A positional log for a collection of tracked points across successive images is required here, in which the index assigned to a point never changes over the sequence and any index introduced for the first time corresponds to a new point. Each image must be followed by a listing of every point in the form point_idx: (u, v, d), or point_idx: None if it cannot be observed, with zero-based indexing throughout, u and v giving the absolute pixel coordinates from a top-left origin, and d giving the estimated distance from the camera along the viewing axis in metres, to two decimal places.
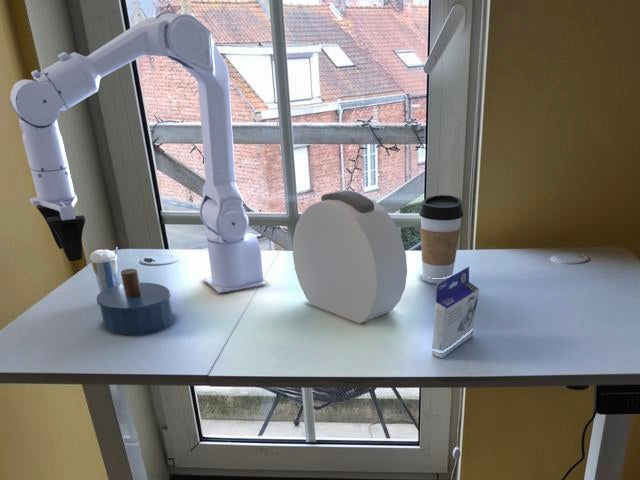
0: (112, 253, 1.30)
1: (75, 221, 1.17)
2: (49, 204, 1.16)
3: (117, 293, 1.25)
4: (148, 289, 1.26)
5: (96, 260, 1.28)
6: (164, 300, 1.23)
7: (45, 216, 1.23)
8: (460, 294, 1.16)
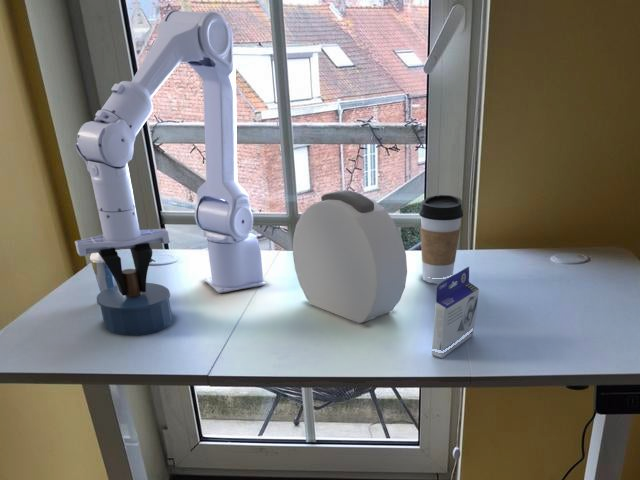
0: None
1: (102, 257, 1.18)
2: (95, 237, 1.18)
3: (116, 293, 1.25)
4: (148, 289, 1.26)
5: (96, 260, 1.28)
6: (164, 300, 1.23)
7: (132, 254, 1.23)
8: (460, 294, 1.16)
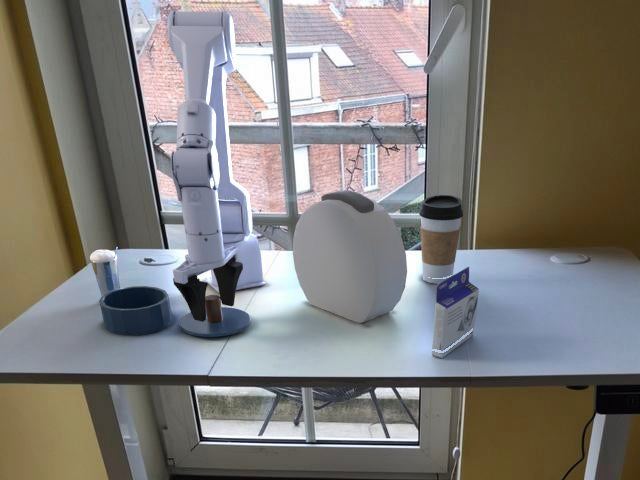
0: (112, 253, 1.30)
1: (190, 286, 1.16)
2: None
3: (196, 321, 1.25)
4: None
5: (96, 260, 1.28)
6: (250, 318, 1.27)
7: (214, 272, 1.25)
8: (460, 294, 1.16)
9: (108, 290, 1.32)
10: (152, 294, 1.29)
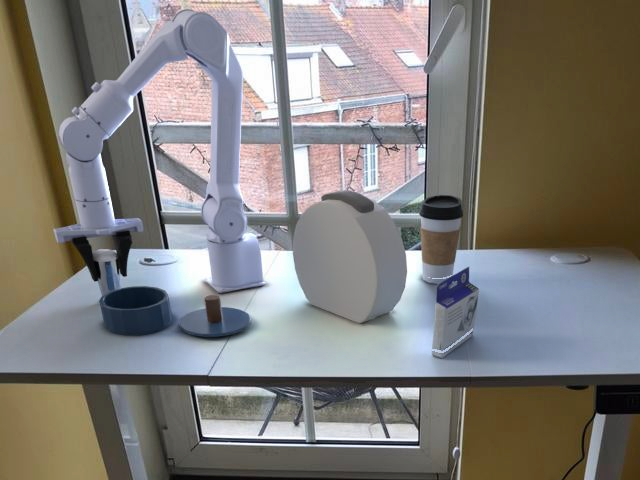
0: (114, 253, 1.30)
1: None
2: (123, 225, 1.27)
3: (196, 321, 1.25)
4: None
5: (98, 259, 1.28)
6: (250, 318, 1.27)
7: (91, 251, 1.27)
8: (460, 294, 1.16)
9: (108, 290, 1.32)
10: (152, 294, 1.29)
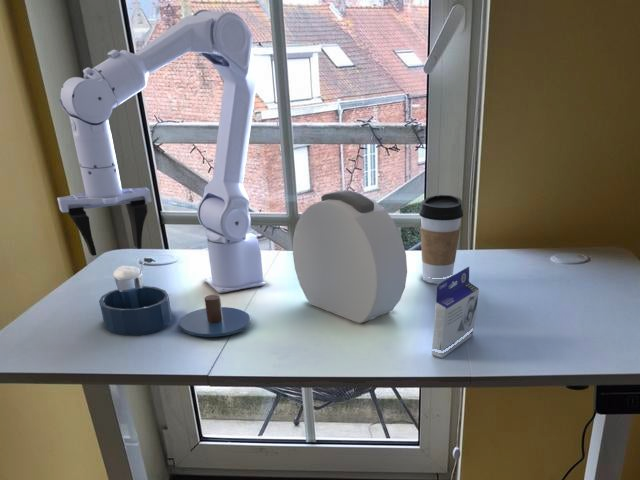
0: (137, 269, 1.22)
1: None
2: (130, 194, 1.21)
3: (196, 321, 1.25)
4: None
5: (120, 277, 1.20)
6: (250, 318, 1.27)
7: None
8: (460, 294, 1.16)
9: None
10: (152, 294, 1.29)
